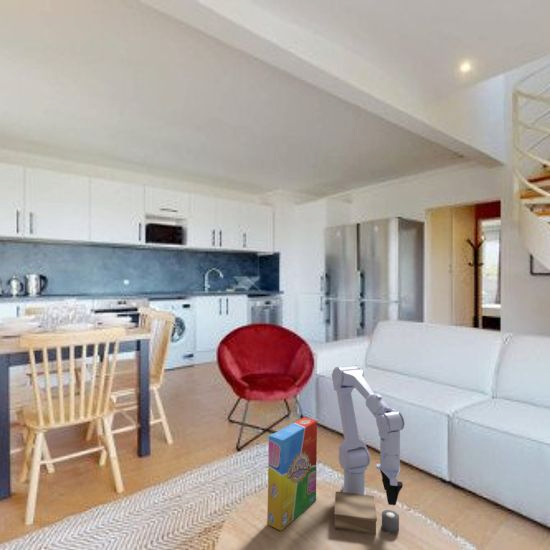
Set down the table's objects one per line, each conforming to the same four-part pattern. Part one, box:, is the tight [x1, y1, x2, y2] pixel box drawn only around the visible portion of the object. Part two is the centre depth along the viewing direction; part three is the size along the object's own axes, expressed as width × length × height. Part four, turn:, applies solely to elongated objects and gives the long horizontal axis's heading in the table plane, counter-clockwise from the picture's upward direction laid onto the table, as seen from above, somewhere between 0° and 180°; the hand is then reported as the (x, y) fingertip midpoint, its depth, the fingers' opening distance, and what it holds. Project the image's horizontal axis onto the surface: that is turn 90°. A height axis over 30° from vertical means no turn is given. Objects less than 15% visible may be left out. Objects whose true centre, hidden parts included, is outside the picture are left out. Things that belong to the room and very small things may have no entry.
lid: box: [334, 490, 378, 522], centre depth 117 cm, size 12×12×1 cm
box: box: [334, 516, 377, 535], centre depth 117 cm, size 12×12×4 cm
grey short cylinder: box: [381, 509, 400, 535], centre depth 113 cm, size 5×5×4 cm
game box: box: [266, 417, 318, 531], centre depth 121 cm, size 21×6×27 cm, turn 143°
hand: (389, 496), depth 113 cm, fingers open, 7 cm apart
